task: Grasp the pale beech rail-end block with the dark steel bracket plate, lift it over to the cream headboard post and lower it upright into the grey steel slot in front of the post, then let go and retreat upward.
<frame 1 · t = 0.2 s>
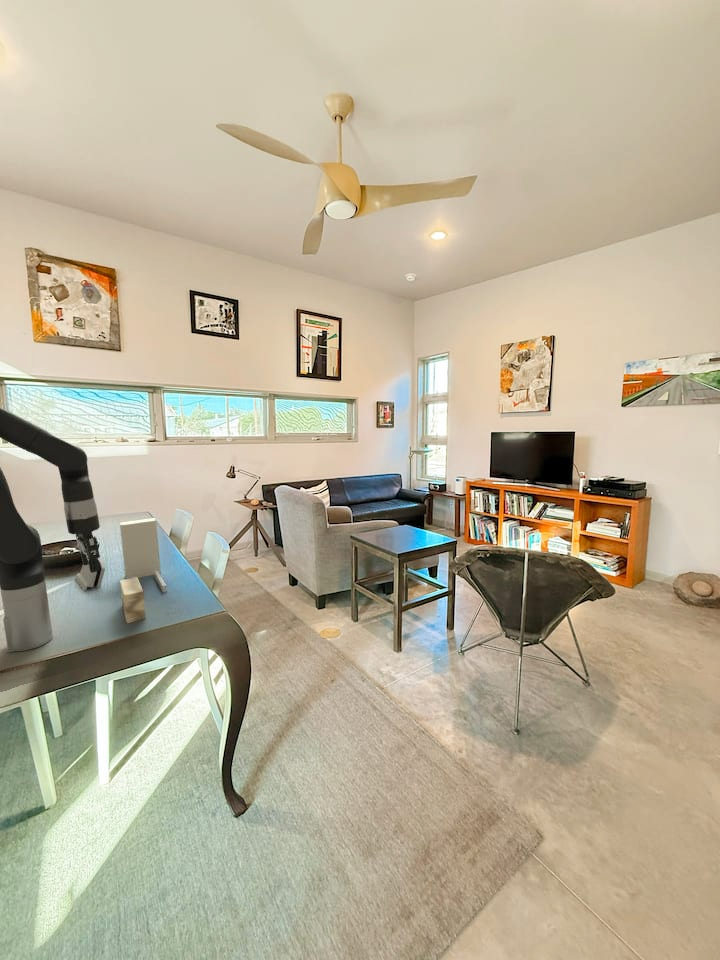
hand: (91, 567, 114), 18 cm above the table, tool pointing down, fingers open, 8 cm apart
headboard post: (148, 586, 143), on the table
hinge: (91, 582, 149), on the table
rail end: (133, 612, 124), on the table
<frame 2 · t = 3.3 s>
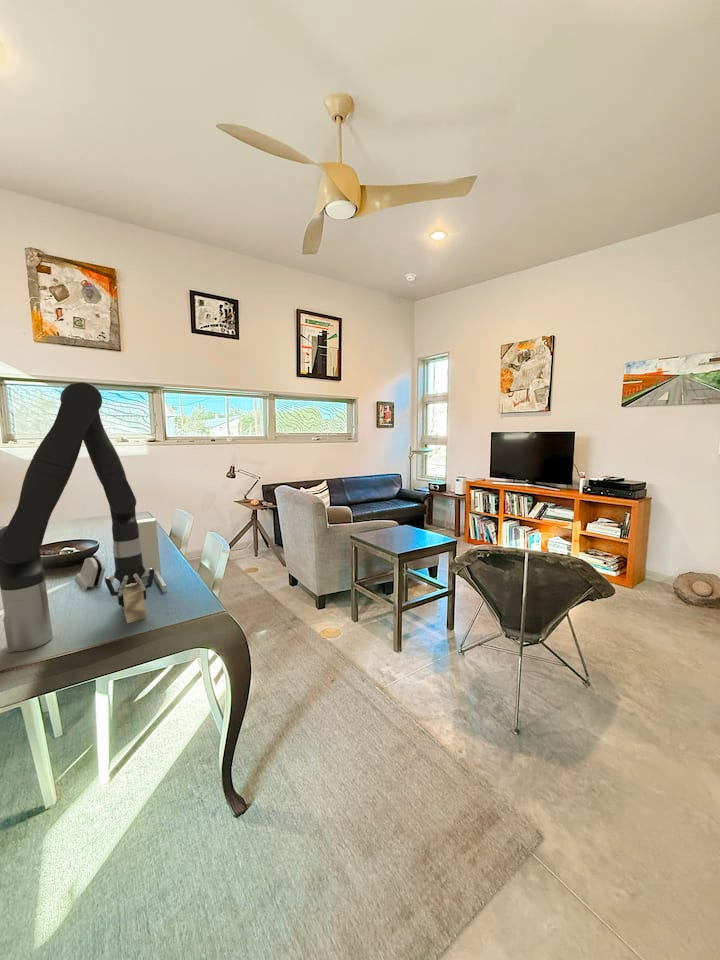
hand: (133, 603, 124), 3 cm above the table, tool pointing down, fingers closed on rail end, 5 cm apart
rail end: (133, 612, 124), on the table, touching gripper
everything else where it was.
when the fingers open (4 cm above the table, at t = 9.5 s): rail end drops 1 cm, resting in headboard post.
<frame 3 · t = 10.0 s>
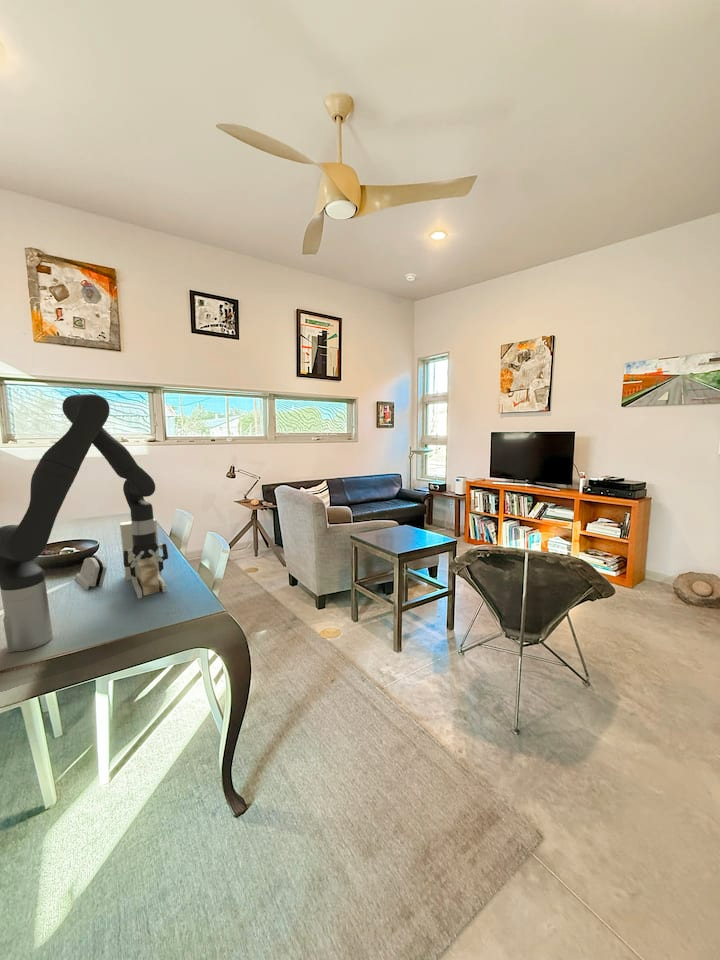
hand: (147, 573, 143), 5 cm above the table, tool pointing down, fingers open, 8 cm apart
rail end: (148, 587, 143), resting in headboard post
everything else where it was.
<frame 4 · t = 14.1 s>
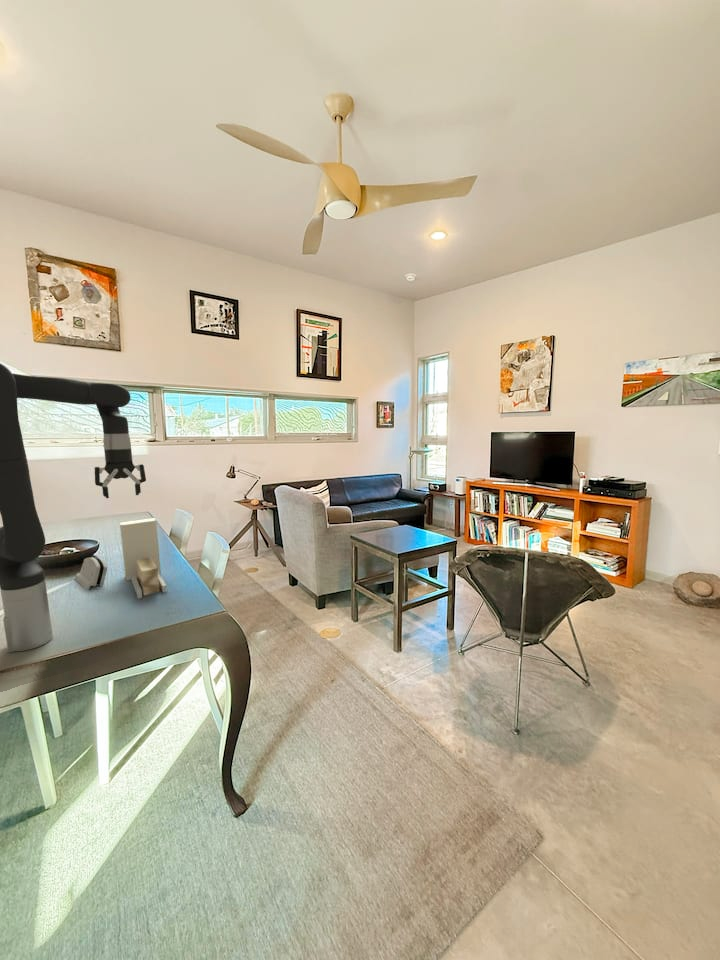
hand: (122, 496, 128), 36 cm above the table, tool pointing down, fingers open, 8 cm apart
nothing on the table moved.
at the end: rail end inside the target area (0.2 cm from its centre), resting in headboard post; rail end tilted 0°; the gripper is holding nothing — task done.
